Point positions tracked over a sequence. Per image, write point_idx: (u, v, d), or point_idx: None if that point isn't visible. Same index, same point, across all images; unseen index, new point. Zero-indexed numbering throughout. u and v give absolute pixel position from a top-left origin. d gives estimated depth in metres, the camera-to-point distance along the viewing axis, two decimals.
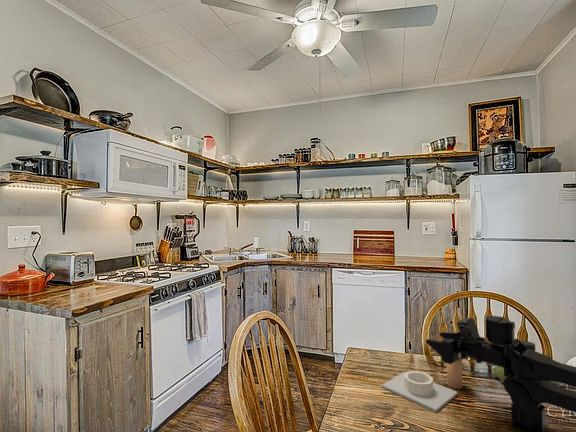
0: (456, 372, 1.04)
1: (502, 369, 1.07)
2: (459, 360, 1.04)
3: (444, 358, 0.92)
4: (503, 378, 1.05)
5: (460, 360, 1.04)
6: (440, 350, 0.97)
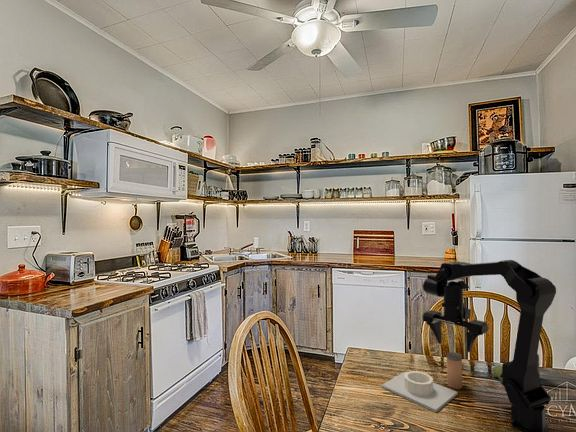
0: (456, 372, 1.04)
1: (501, 368, 1.07)
2: (459, 360, 1.04)
3: None
4: None
5: (460, 360, 1.04)
6: None
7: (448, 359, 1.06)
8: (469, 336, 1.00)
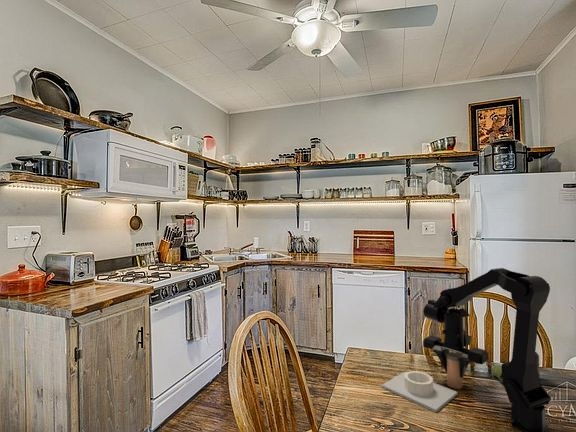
0: (456, 372, 1.04)
1: (500, 368, 1.08)
2: (459, 360, 1.04)
3: None
4: None
5: None
6: None
7: (448, 359, 1.06)
8: (462, 363, 1.02)
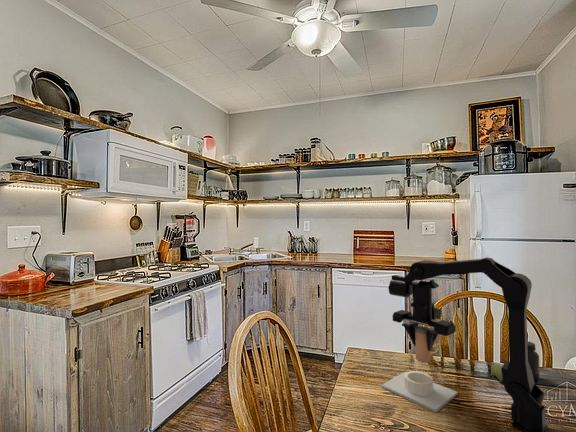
0: (423, 346, 1.02)
1: (499, 367, 1.08)
2: None
3: None
4: (500, 376, 1.06)
5: None
6: None
7: (416, 332, 1.04)
8: (429, 335, 0.99)
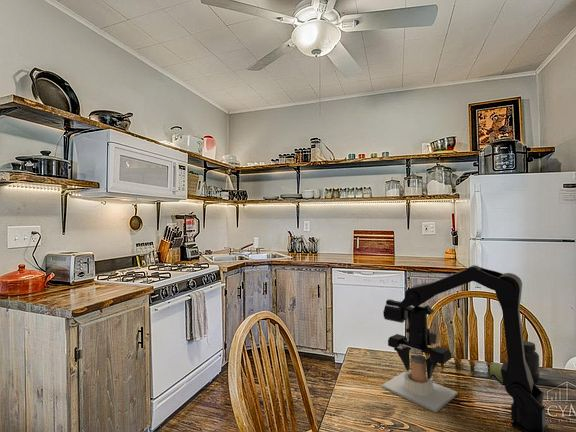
0: (419, 375, 1.01)
1: (498, 366, 1.09)
2: (423, 362, 1.01)
3: None
4: (498, 375, 1.07)
5: (424, 362, 1.01)
6: None
7: (412, 361, 1.03)
8: (428, 363, 0.98)
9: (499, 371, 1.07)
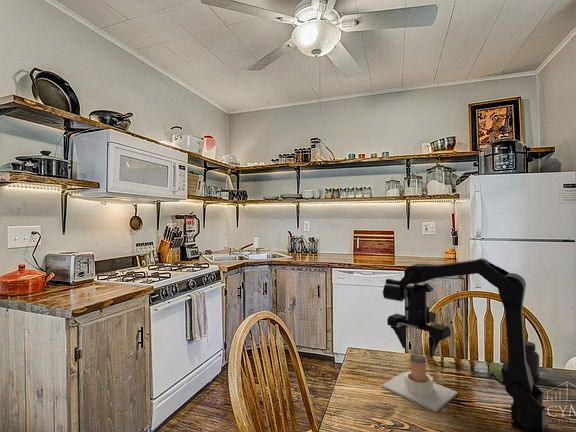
0: (419, 375, 1.01)
1: (497, 366, 1.09)
2: (423, 362, 1.01)
3: None
4: (498, 375, 1.07)
5: (424, 362, 1.01)
6: None
7: (412, 361, 1.03)
8: (431, 341, 0.97)
9: (498, 371, 1.07)
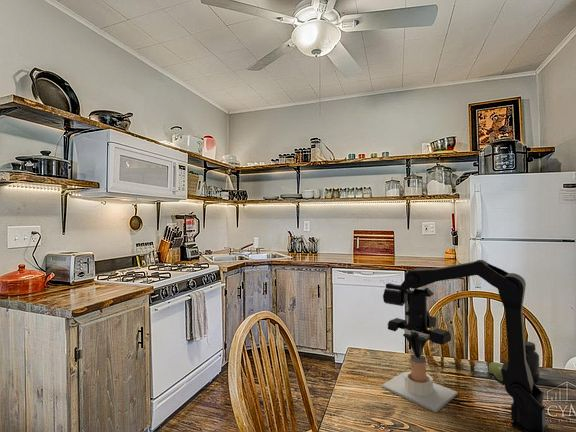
0: (419, 375, 1.01)
1: (496, 365, 1.10)
2: (423, 362, 1.01)
3: None
4: (497, 374, 1.08)
5: (424, 362, 1.01)
6: None
7: (412, 361, 1.03)
8: (418, 342, 1.00)
9: (497, 370, 1.08)
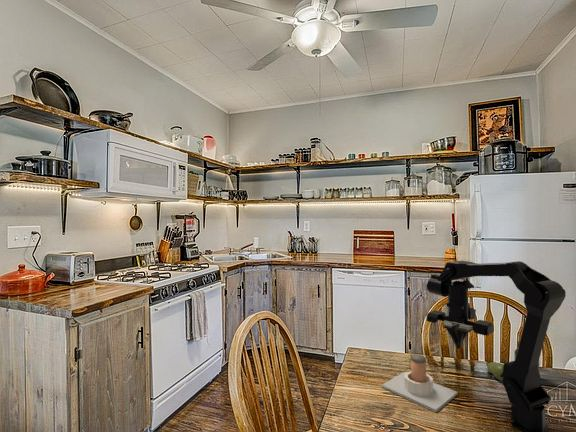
0: (419, 375, 1.01)
1: (495, 365, 1.10)
2: (423, 362, 1.01)
3: None
4: (496, 373, 1.08)
5: (424, 362, 1.01)
6: None
7: (412, 361, 1.03)
8: (459, 333, 1.01)
9: (496, 369, 1.08)
